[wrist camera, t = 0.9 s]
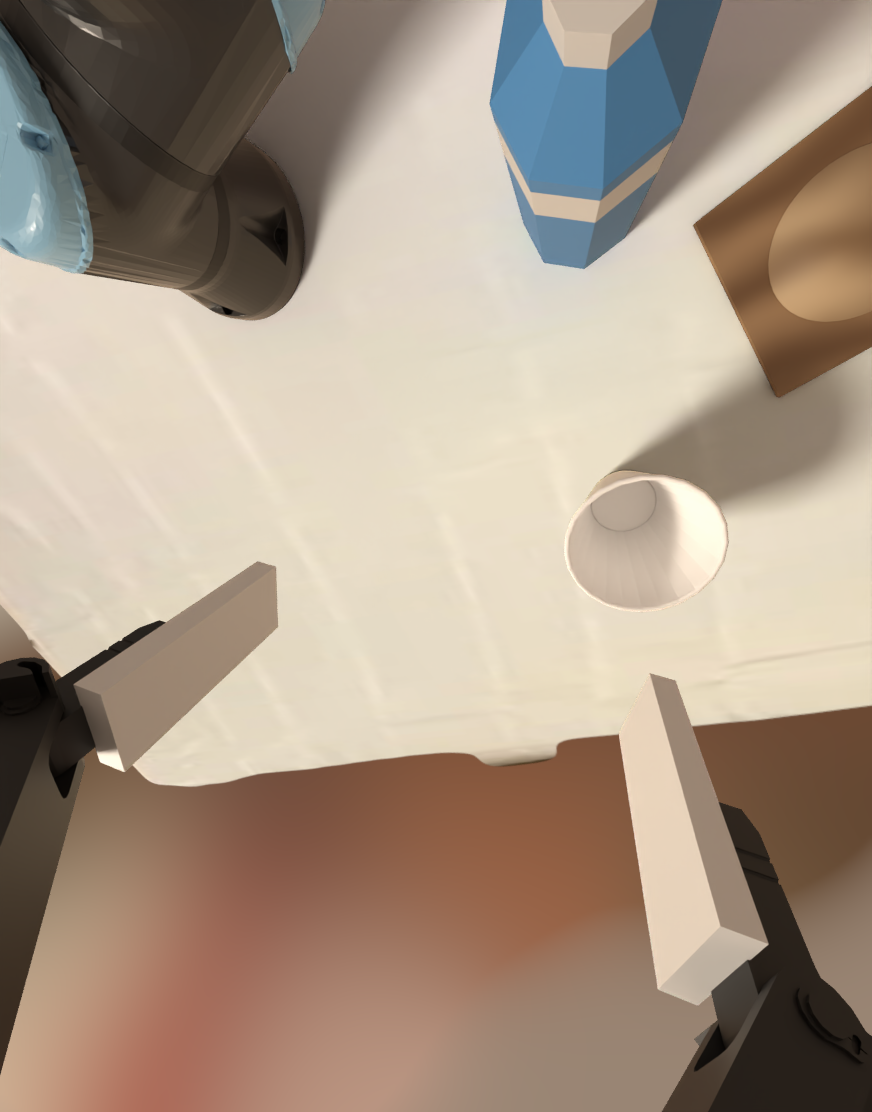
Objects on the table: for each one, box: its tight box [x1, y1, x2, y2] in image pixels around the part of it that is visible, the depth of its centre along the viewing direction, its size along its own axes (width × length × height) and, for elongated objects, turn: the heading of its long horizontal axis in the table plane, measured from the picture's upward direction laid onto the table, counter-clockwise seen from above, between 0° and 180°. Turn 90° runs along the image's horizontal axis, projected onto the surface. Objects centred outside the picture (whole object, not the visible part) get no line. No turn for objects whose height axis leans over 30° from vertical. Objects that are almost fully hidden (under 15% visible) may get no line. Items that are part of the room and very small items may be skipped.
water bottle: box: [490, 0, 722, 269], centre depth 24 cm, size 9×9×25 cm
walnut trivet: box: [693, 86, 872, 397], centre depth 31 cm, size 16×16×1 cm
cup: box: [564, 471, 729, 612], centre depth 38 cm, size 12×12×12 cm
